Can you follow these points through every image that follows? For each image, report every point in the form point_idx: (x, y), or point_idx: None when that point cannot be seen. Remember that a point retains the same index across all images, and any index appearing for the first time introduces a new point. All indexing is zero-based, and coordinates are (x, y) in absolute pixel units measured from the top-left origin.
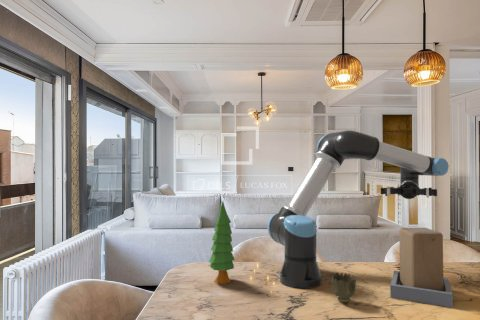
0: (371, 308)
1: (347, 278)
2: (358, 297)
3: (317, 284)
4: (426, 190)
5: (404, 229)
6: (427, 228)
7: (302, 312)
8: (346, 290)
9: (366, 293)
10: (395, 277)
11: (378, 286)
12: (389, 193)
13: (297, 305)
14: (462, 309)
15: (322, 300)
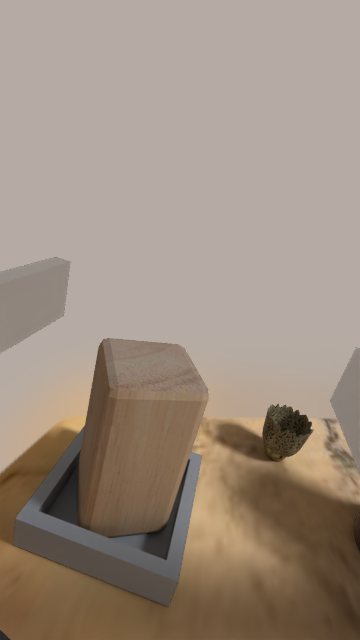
0: (228, 435)
1: (286, 437)
2: (255, 474)
3: (356, 522)
4: (62, 267)
5: (197, 374)
6: (117, 373)
7: (313, 424)
8: (274, 419)
9: (243, 495)
10: (184, 505)
11: (219, 547)
12: (356, 423)
13: (331, 442)
14: (71, 433)
15: (308, 459)
